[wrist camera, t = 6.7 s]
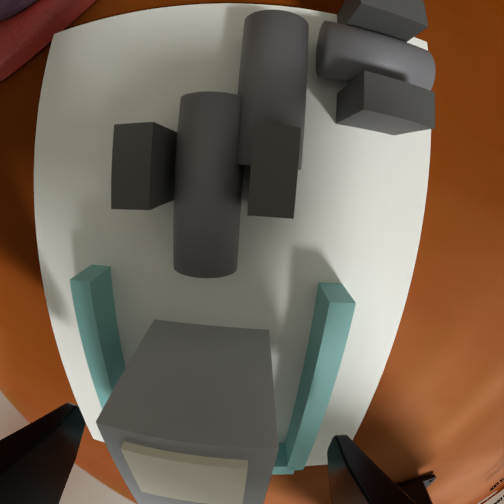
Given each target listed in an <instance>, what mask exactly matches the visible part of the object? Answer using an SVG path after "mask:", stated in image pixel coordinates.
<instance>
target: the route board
mask: <svg viewBox="0 0 504 504" xmlns="http://www.w3.org/2000/svg"><path fill="white" fill-rule="evenodd" d="M427 27H428V23H427V17H426V11H425V6H424V1H422V0H345V2H344V4H343V5H342V7H341V9H340V10H339V12H338V14H337V15H336V14H331V13H326V12H321V11H315V10H309V9H302V8H294V7H286V6H276V5H263V4H240V3H217V4H194V5H181V6H172V7H163V8H156V9H149V10H143V11H137V12H132V13H127V14H122V15H117V16H113V17H108V18H104V19H100V20H97V21H93V22H89V23H86V24H83V25H79V26H76V27H73V28H70V29H67V30H64V31H61V32H58V33H56V34H54V36H53V39H52V43H51V47H50V51H49V55H48V59H47V63H46V68H45V72H44V77H43V83H42V88H41V94H40V101H39V108H38V116H37V125H36V137H35V152H34V209H35V225H36V237H37V246H38V254H39V262H40V269H41V275H42V281H43V287H44V292H45V297H46V302H47V307H48V311H49V315H50V320H51V324H52V328H53V331H54V335H55V339H56V342H57V346H58V349H59V353H60V356H61V359H62V362H63V365H64V368H65V371H66V374H67V377H68V380H69V382H70V385H71V388H72V391H73V393H74V396H75V398H76V401H77V403H78V406H79V408H80V410H81V413H82V415H83V417H84V420H85V422H86V424H87V426H88V428H89V430H90V433H91V435H92V437H93V439H96V440H99V441H102V442H104V440H103V438H102V435H101V433H100V431H99V429H98V426H97V424H96V420H97V418H98V416H99V415H100V413H101V411H102V408H101V405H100V402H99V399H98V396H97V393H96V390H95V387H94V384H93V381H92V378H91V374H90V371H89V368H88V364H87V360H86V357H85V353H84V349H83V345H82V341H81V337H80V333H79V328H78V324H77V319H76V314H75V309H74V304H73V298H72V292H71V286H70V279H71V278H72V277H74V276H75V275H77V274H78V273H80V272H81V271H83V270H84V269H86V268H87V267H89V266H90V265H102V266H110V267H111V278H112V287H113V296H114V304H115V311H116V318H117V325H118V331H119V337H120V343H121V348H122V354H123V359H124V364H125V368H126V366H127V365H128V363H129V361H130V360H131V358H132V356H133V355H134V353H135V351H136V349H137V348H138V346H139V344H140V343H141V341H142V339H143V338H144V336H145V334H146V333H147V331H148V329H149V328H150V326H151V324H152V323H153V321H154V320H155V319H157V320H164V321H173V322H181V323H191V324H200V325H211V326H222V327H235V328H249V329H265V330H269V336H270V348H271V359H272V371H273V383H274V395H275V408H276V421H277V433H278V443H285V441H286V437H287V433H288V429H289V425H290V422H291V418H292V413H293V409H294V405H295V401H296V397H297V392H298V388H299V384H300V379H301V375H302V370H303V365H304V360H305V356H306V351H307V346H308V341H309V335H310V330H311V325H312V319H313V313H314V308H315V302H316V296H317V290H318V283H319V282H325V283H342V284H343V286H344V287H345V288H346V290H347V291H348V293H349V294H350V295H351V297H352V298H353V300H354V301H355V302H356V305H355V310H354V314H353V318H352V322H351V327H350V331H349V335H348V338H347V342H346V346H345V350H344V353H343V357H342V361H341V364H340V368H339V371H338V374H337V378H336V381H335V384H334V388H333V391H332V394H331V397H330V400H329V403H328V406H327V409H326V412H325V415H324V418H323V420H322V423H321V426H320V429H319V432H318V434H317V437H316V440H315V442H314V445H313V447H312V450H311V452H310V455H309V457H308V460H307V462H306V465H305V466H315V465H327V464H328V460H327V450H328V447H329V445H330V443H331V440H332V438H333V437H334V436H335V435H342V434H345V435H347V436H349V437H350V439H351V440H353V438H354V436H355V434H356V432H357V430H358V428H359V426H360V424H361V422H362V420H363V418H364V416H365V413H366V411H367V409H368V407H369V404H370V402H371V400H372V398H373V395H374V393H375V390H376V388H377V386H378V383H379V380H380V378H381V375H382V373H383V370H384V367H385V365H386V362H387V359H388V357H389V354H390V351H391V348H392V345H393V342H394V339H395V336H396V333H397V330H398V326H399V323H400V320H401V316H402V313H403V309H404V306H405V302H406V298H407V295H408V291H409V287H410V283H411V279H412V274H413V270H414V265H415V261H416V256H417V251H418V246H419V241H420V235H421V229H422V223H423V216H424V209H425V202H426V194H427V185H428V174H429V162H430V145H431V129H435V93H434V92H433V91H431V89H432V86H433V83H434V79H435V63H434V59H433V57H432V55H431V53H430V52H429V51H428V47H427V42H425V41H422V40H420V39H417V38H415V37H414V36H416V35H417V34H419V33H420V32H421V31H423V30H424V29H426V28H427Z"/></svg>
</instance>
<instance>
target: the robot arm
mask: <svg viewBox="0 0 504 504" xmlns="http://www.w3.org/2000/svg"><path fill="white" fill-rule="evenodd" d="M84 427H85V420H84V417H83V415H82V413H81V410H80V408H79V407H78V406H77V405H75V404H72V403H66V404H64V405H62V406H61V407H59V408H57V409H55V410H54V411H52V412H50V413H48V414H47V415H45V416H43V417H41V418H40V419H38V420H36V421H34V422H33V423H31V424H29V425H27V426H25V427H24V428H22V429H20V430H18V431H16V432H15V433H13V434H11V435H9V436H7V437H5V438H4V439H2V440H0V504H59V501H60V498H61V496H62V493H63V490H64V488H65V485H66V482H67V479H68V477H69V474H70V472H71V469H72V467H73V464H74V462H75V459H76V456H77V452H78V448H79V445H80V441H81V438H82V434H83V431H84ZM327 460H328V473H329V488H330V495H331V501H332V504H433V503H432V501H431V498H430V496H429V494H428V491H427V489H426V488H427V487H428V486H429V485H430V484H431V483H432V482H433V481H434V480H435V479H436V476H435V474H433V475H430V476H427V477H424V478H420V479H417V480H414V481H411V482H407V483H404V484H400V485H396V484H395V483H394V482H393V481H392V480H391V479H390V478H389V477H388V476H387V475H386V474H385V473H384V472H383V471H382V470H381V469H380V468H379V467H378V466H377V465H376V464H375V463H374V462H373V461H372V460H371V459H370V458H369V457H368V456H367V455H366V454H365V453H364V452H363V451H362V450H361V449H360V448H359V447H358V446H357V445H356V444H355V443H354V442H353V441H352V440H351V439H350V437H349V436H347V435H345V434H342V435H335V436H334V437H333V438H332V440H331V443H330V445H329V447H328V450H327Z"/></svg>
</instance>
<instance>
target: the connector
mask: <svg viewBox="0 0 504 504" xmlns="http://www.w3.org/2000/svg"><path fill="white" fill-rule="evenodd" d="M96 424H97V426H98V429H99V431H100V433H101V435H102V438H103V440H104V442H105V444H106V446H107V448H108V450H109V452H110V455H111V457H112V459H113V460H114V462H115V464H116V466H117V468H118V470H119V472H120V474H121V476H122V477H123V479H124V481H125V483H126V484H127V486H128V488H129V490H130V491H131V493H132V495H133V496H134V498H135V499H136V501H137V503H138V504H263V502H264V499H265V496H266V492H267V489H268V486H269V482H270V479H271V475H272V472H273V468H274V465H275V461H276V457H277V454H278V450H279V447H278V433H277V421H276V408H275V395H274V383H273V371H272V359H271V348H270V336H269V330H265V329H249V328H235V327H222V326H211V325H200V324H191V323H181V322H173V321H164V320H157V319H155V320H154V321H153V323H152V324H151V326H150V328H149V329H148V331H147V333H146V334H145V336H144V338H143V339H142V341H141V343H140V344H139V346H138V348H137V349H136V351H135V353H134V355H133V356H132V358H131V360H130V361H129V363H128V365H127V366H126V368H125V370H124V372H123V373H122V375H121V377H120V379H119V380H118V382H117V384H116V386H115V387H114V389H113V391H112V393H111V395H110V396H109V398H108V400H107V402H106V404H105V405H104V407H103V409H102V411H101V413H100V415H99V416H98V418H97V420H96Z"/></svg>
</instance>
